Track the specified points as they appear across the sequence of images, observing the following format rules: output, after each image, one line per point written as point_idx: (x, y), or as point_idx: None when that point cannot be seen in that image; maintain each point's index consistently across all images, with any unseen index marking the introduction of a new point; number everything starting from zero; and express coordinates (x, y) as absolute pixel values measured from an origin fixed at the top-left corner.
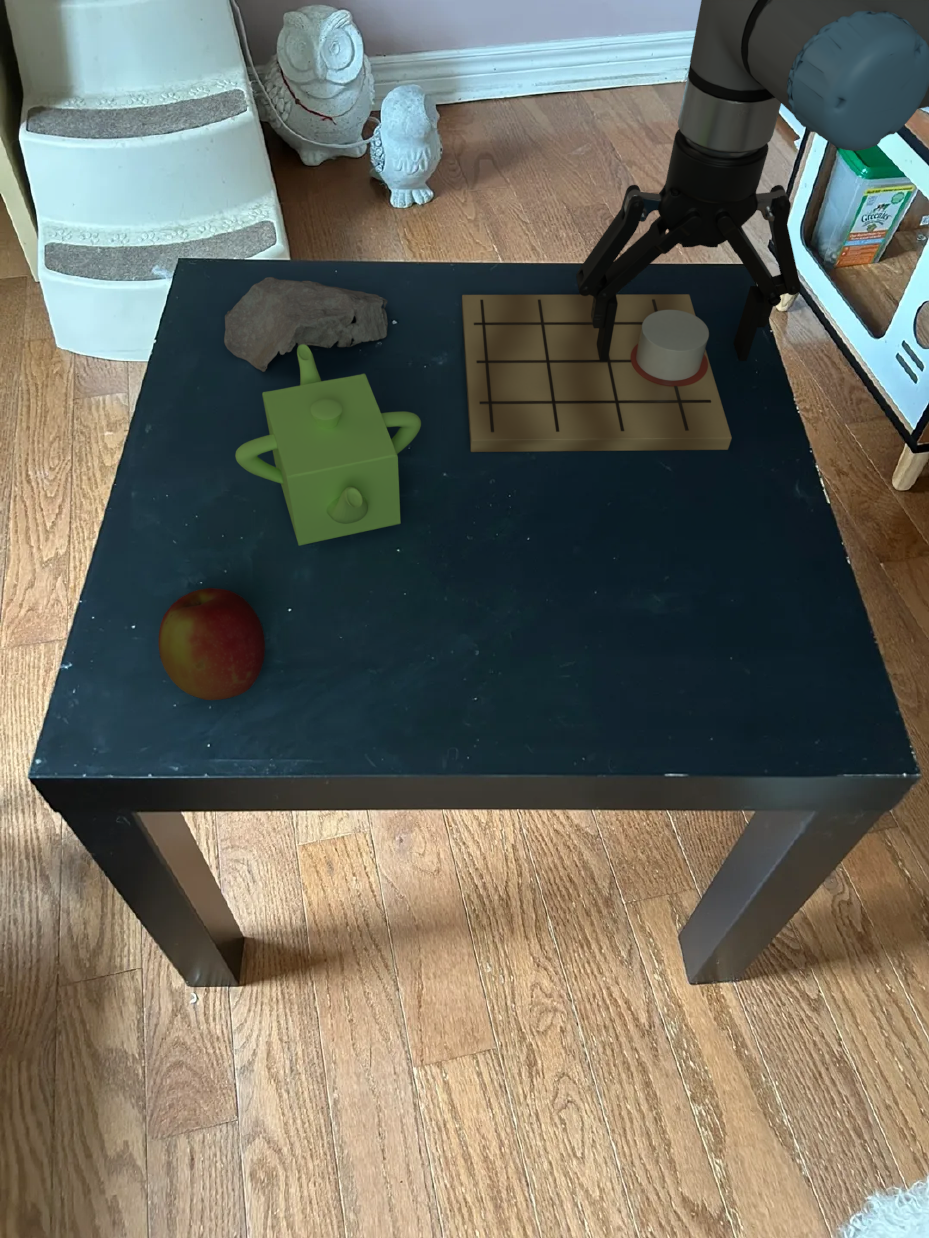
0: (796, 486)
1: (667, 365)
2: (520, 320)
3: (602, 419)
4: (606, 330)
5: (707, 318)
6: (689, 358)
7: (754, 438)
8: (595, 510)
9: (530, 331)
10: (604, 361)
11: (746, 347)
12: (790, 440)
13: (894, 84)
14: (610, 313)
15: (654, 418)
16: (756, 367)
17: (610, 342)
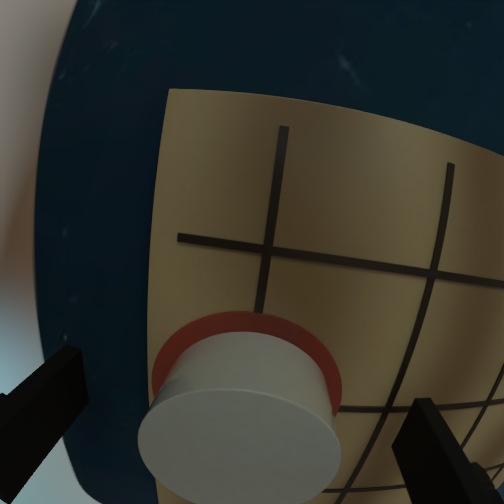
0: (94, 11)
1: (284, 364)
2: None
3: (478, 217)
4: (463, 458)
5: (134, 468)
6: (215, 370)
7: (110, 136)
8: (487, 23)
9: None
10: (422, 398)
11: (53, 367)
12: (51, 130)
13: None
14: (482, 498)
15: (362, 192)
16: None
17: (435, 434)
